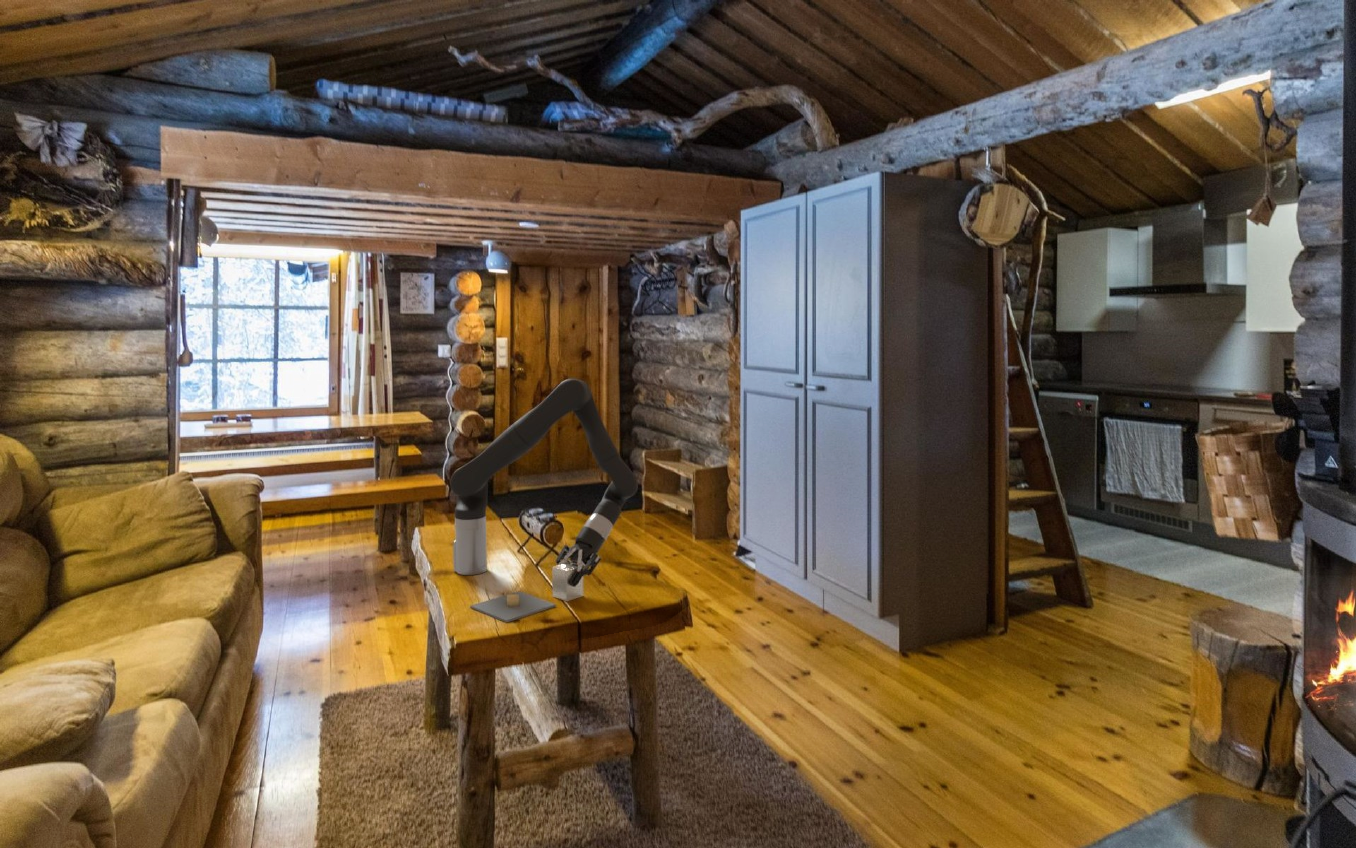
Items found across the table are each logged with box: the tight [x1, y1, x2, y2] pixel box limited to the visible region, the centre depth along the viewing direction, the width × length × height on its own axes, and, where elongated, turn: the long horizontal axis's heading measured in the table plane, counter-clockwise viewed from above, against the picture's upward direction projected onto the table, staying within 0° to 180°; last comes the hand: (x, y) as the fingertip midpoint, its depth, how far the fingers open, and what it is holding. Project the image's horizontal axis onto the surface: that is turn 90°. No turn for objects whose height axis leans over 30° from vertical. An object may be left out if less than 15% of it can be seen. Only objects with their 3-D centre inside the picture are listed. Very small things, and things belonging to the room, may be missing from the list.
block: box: [551, 562, 584, 602], centre depth 214 cm, size 6×6×8 cm
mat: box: [470, 590, 557, 624], centre depth 206 cm, size 16×16×3 cm
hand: (563, 582), depth 213 cm, fingers open, 6 cm apart
